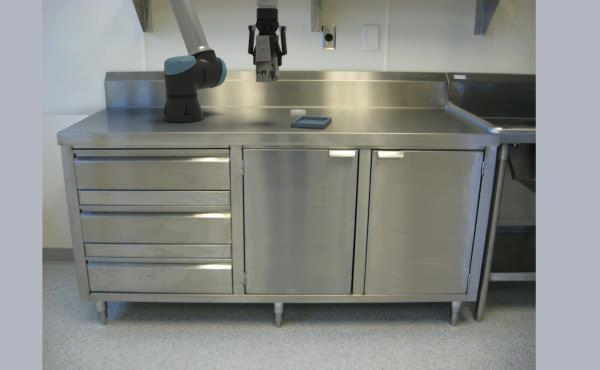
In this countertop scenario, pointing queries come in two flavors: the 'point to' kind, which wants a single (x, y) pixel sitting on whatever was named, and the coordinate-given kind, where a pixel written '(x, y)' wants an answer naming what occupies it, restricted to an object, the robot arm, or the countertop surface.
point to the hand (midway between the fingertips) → (267, 74)
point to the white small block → (297, 113)
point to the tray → (311, 122)
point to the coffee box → (266, 58)
